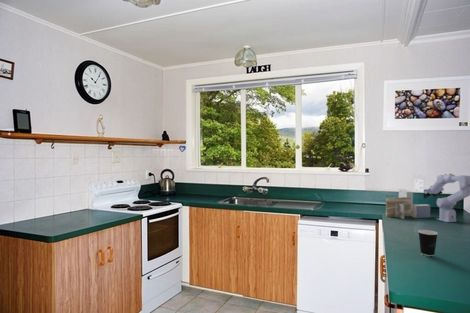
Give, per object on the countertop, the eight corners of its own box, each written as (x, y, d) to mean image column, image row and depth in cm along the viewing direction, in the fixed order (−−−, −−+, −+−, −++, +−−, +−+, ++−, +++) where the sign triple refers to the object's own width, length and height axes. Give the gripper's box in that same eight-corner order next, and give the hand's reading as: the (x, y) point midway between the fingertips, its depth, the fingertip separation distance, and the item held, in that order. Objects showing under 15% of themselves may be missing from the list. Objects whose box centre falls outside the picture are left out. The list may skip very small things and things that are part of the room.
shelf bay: (418, 218, 226) (418, 199, 226) (394, 219, 222) (394, 199, 222) (409, 215, 235) (409, 197, 235) (385, 216, 232) (385, 197, 231)
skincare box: (413, 211, 253) (413, 192, 253) (406, 211, 254) (406, 191, 254) (404, 207, 274) (404, 189, 274) (397, 206, 275) (398, 188, 275)
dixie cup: (419, 251, 149) (420, 228, 149) (439, 255, 143) (439, 231, 143) (415, 255, 143) (415, 231, 143) (435, 259, 138) (436, 235, 137)
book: (430, 217, 229) (430, 205, 229) (416, 218, 227) (416, 205, 227) (425, 216, 234) (425, 204, 233) (411, 216, 231) (411, 204, 231)
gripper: (442, 180, 231) (434, 190, 242) (425, 183, 230) (417, 194, 240) (448, 188, 227) (439, 198, 237) (431, 191, 225) (422, 201, 235)
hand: (428, 196), depth 238 cm, fingers open, 7 cm apart
